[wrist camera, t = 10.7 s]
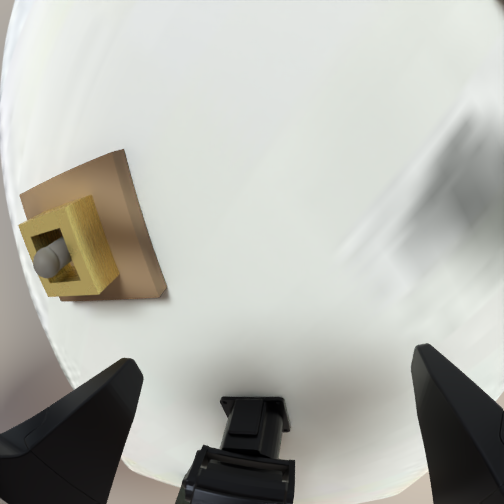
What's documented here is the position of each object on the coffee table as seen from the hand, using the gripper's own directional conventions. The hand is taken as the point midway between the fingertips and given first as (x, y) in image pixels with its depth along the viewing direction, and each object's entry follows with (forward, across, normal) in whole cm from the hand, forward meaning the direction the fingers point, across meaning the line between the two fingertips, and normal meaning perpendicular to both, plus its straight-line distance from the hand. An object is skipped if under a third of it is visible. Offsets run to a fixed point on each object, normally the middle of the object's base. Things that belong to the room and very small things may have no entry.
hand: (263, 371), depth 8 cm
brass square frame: (+10, +16, -2) cm, 19 cm away
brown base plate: (+12, +16, -2) cm, 20 cm away
